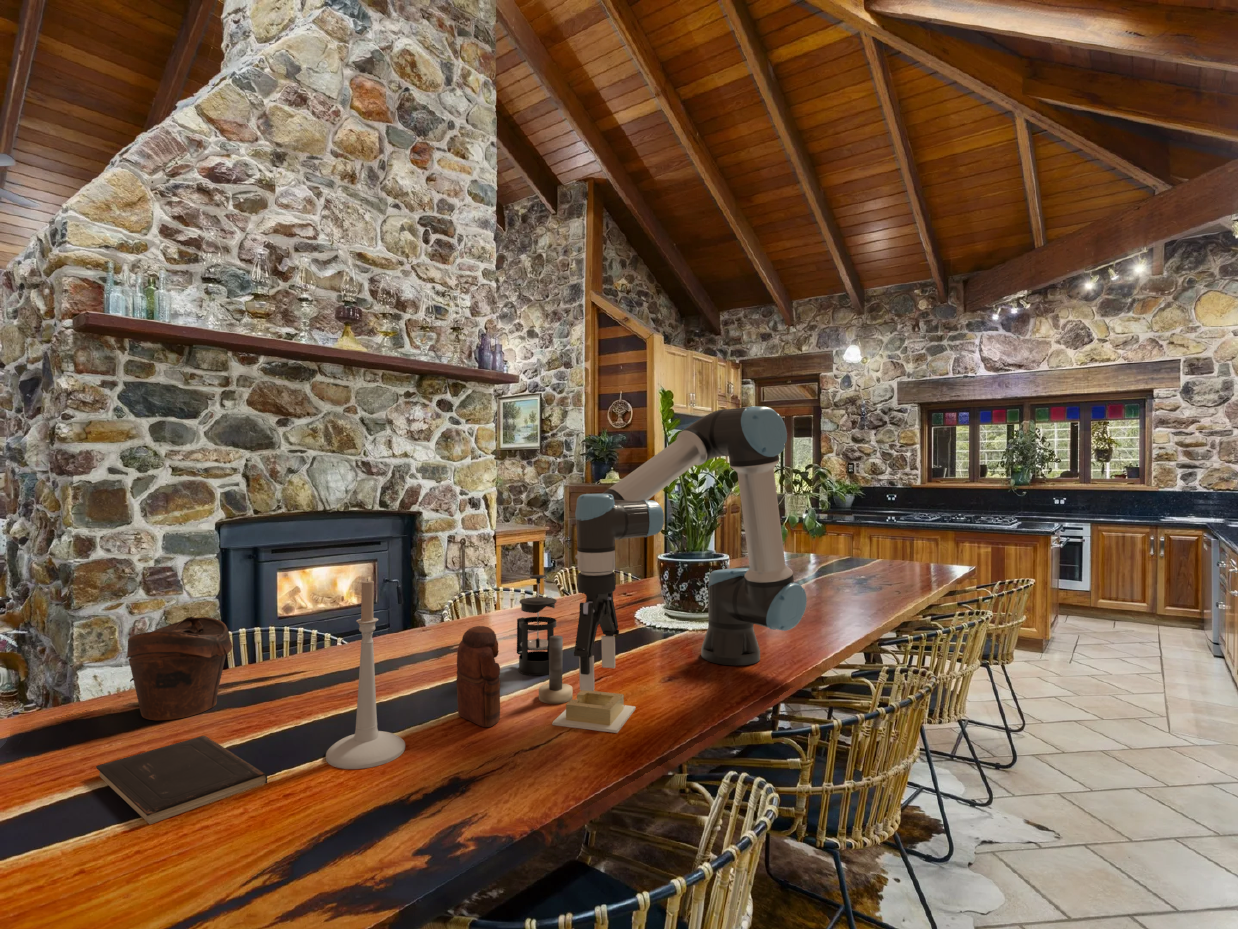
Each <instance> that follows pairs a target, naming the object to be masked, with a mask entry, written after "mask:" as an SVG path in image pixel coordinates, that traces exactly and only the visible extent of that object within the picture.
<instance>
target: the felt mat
mask: <svg viewBox="0 0 1238 929" xmlns="http://www.w3.org/2000/svg"><path fill="white" fill-rule="evenodd" d="M635 710H636V706H634V705H628V704H627V705H626V704H624V709H623V710H622V712H621V713H620V714H619V715H618V717H617V718H616V719H615V720H614V722H613V723H612V724H611V725H602V724H594V723H586V722H578V721H570V720H566V709H564V710H563V711H562V713H560V714H559V715H558V716H557V717H556V718H555V719H554V720H553V721H552V726H557V727H565V728H566V727H567V728H572V729H573V728H574V729H584V730H590V731H591V730H592V731H598V732H606V733H607V732H608V733H613V734H614V733H615V734H618V733H619V732H620V730H622V728H623V726H624V725H625V724H626V723H627V721H628V720H629V718H630V717H631V716H632V714H633V713H634V712H635Z"/></svg>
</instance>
